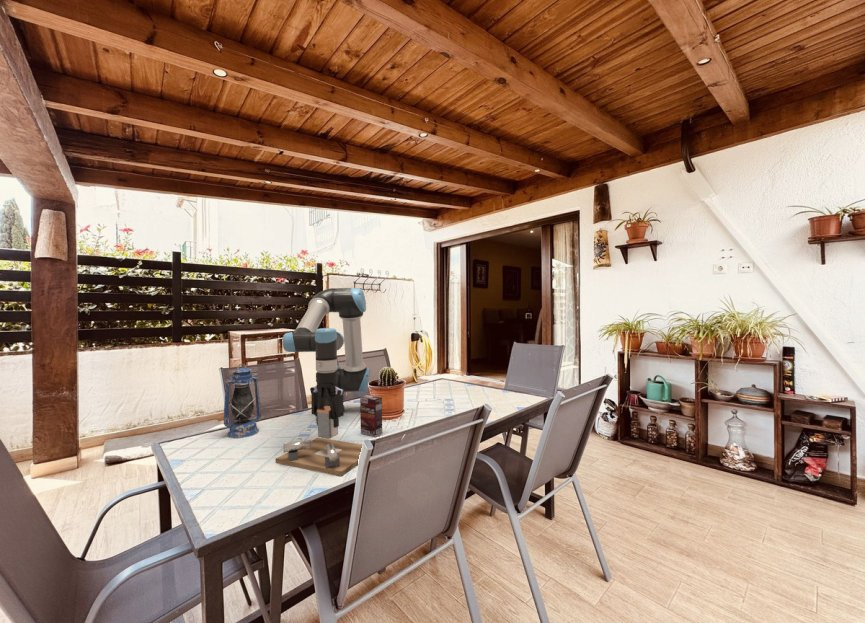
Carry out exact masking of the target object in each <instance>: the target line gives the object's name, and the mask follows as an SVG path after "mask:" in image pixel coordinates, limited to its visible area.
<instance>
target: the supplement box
mask: <svg viewBox="0 0 865 623" xmlns="http://www.w3.org/2000/svg"><path fill="white" fill-rule="evenodd" d="M359 401H360V402H359V406H360V407H359V408H360V409H359V410H360V412H359V415H360V417H359V418H360V434H361V435H366V436H369V435H370V437H373V436H374V438H377V437H379V436H381V435H383V397H382V396H375V395H368V394H365V395H362V396H360V398H359Z"/></svg>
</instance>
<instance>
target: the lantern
mask: <svg viewBox="0 0 865 623" xmlns="http://www.w3.org/2000/svg"><path fill="white" fill-rule="evenodd" d="M241 366H244V368H240V367H241ZM251 371H252V368H248V367H247V366H246V364H244V363H241V364H238V365H237V368H235V369H233V370H231V373H232V375H231V378H230V379H229V378H226V379H225V380H224V383H225V389H224V390H225V391H224V406H223V407H224V408H223V425H224V426H225V427H226V428H229V430H228V432H227V437H228V438H229V439H230V438H231V439H243V438H249V437H253V436H254V435H257V434H258V433H259V432H260V429H259V428H258V425H257V421H258V420H259V419H261V416H262V410H261V400H260V389H259V381H258V378H259V375H258V374H256V373H255V374H254V375H252V373H251ZM250 384H254V392H255V394H254V395H255V397H253V394H252V391H251V387H250ZM230 386H234V389H233V393H232V397H231V399H230ZM254 401H255V404H254ZM229 405H230V406H231V414H232V416H234V419H233V420H235V422H231V423H230V422H229ZM255 405H256V416H255V417H253V418H252V414H253V412H254V409H255Z"/></svg>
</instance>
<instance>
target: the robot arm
mask: <svg viewBox="0 0 865 623" xmlns="http://www.w3.org/2000/svg"><path fill="white" fill-rule="evenodd" d="M366 302H367V300H366V296H365V293H364V290H362V289H361V288H360V287H359V288H358V287H338V288H337V287H336V288H334V287H330V288H326V289H324V290H322V291H320V292H317V293H316V294H315V295H314V296H313V297H312V298H311V299H310V301H309V302H308V304H307V306H308V308H307V310H306V312H305V314H304V315H303V317H302V318H301V320H300V321H299V323H298V325H297V327H296V328H295V330H294V331H293V332H292V331H290V332H285V333H284V335H283V337H282V348H283V350H284V351H285V352H286V353H315V371H316V373H315V382H316V385H315V386H312V387H310V388H309V390H310V394H311V402H310V404H311V414H312V415H314V416H315V418H316V426H318V416H317V409H320V408H322V407H325V406H330V408H331V413H332V417H333V418H331V437H332V438H335V437H337V436H338V434H337V427H338V428H339V426H340V424H339V418H341V417H344V412H345V405H344V393H346V392H358V393H359V392H365V391H366V390H368V386H369V382H370V373H371V370H370V367H367V364H366V363H365V362H364V358H363V357H364V356H363V342H362V340H363V339H362V326H361V322H362V321H361V318H362V317H363V316H364V313H366V311H367V303H366ZM329 313H338V317H339V318H340V319H341V320H342V328H343V329H342V331H343V334H342V333H341V332H338V331H337V329H336V328H330V327H329V328H327V327H323V328H319V327H320V325H321V322H322V320H323V319H324V317H325V316H327V315H328V314H329ZM343 346H344V359H345V363H344V365H343V366H342V368H341V367H340V365H338V351H339V350H340V349H342V347H343Z"/></svg>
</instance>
